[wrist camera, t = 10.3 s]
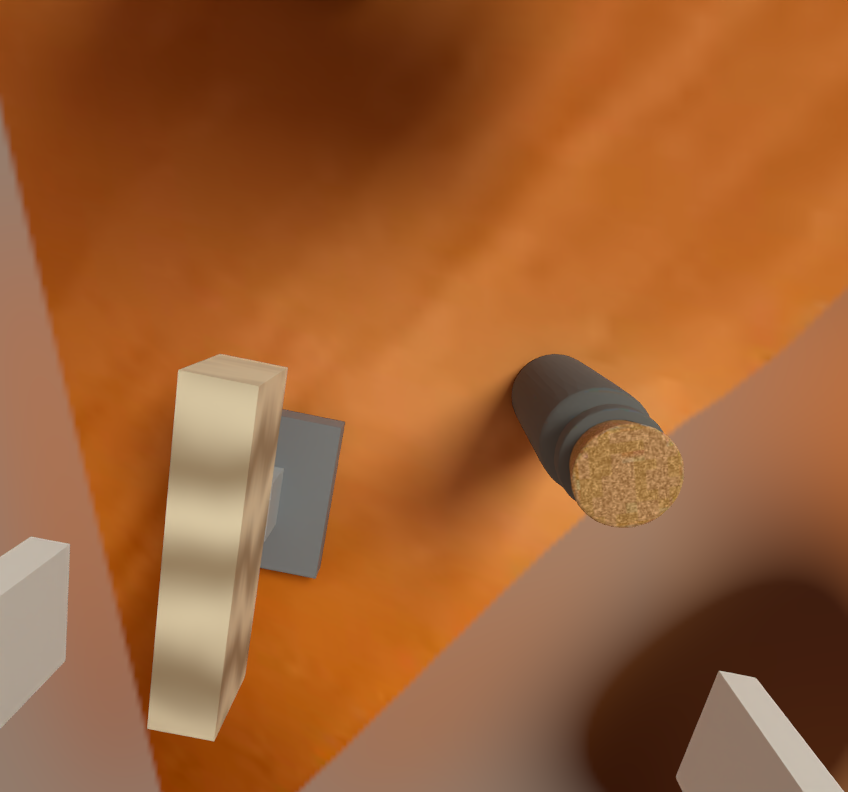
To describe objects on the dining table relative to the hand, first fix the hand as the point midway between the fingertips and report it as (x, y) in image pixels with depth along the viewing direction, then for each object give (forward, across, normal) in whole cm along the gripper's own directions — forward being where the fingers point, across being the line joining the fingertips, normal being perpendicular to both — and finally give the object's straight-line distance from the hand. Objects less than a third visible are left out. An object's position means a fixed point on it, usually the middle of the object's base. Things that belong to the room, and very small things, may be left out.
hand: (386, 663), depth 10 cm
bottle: (+27, +9, +1) cm, 28 cm away
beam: (+21, -10, -10) cm, 25 cm away
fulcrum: (+27, -10, -10) cm, 30 cm away
